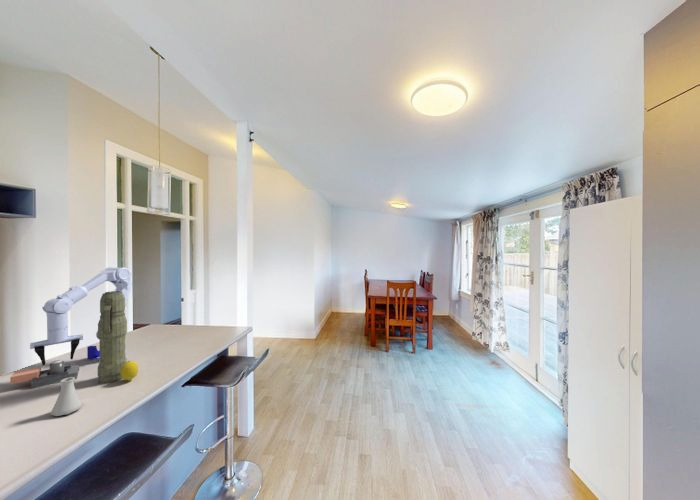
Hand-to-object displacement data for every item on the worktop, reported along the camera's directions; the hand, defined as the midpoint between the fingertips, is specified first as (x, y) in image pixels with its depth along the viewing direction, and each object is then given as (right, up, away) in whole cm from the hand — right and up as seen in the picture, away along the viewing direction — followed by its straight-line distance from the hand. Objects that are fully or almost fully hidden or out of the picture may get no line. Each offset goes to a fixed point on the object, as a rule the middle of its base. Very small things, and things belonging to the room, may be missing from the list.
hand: (58, 361), depth 110 cm
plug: (+1, -7, -1) cm, 7 cm away
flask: (+27, -7, -22) cm, 36 cm away
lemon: (+31, -7, -3) cm, 32 cm away
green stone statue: (+23, -7, -1) cm, 24 cm away
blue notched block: (-5, -7, +24) cm, 26 cm away
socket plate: (+1, -7, -1) cm, 7 cm away
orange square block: (-5, -4, -7) cm, 9 cm away
